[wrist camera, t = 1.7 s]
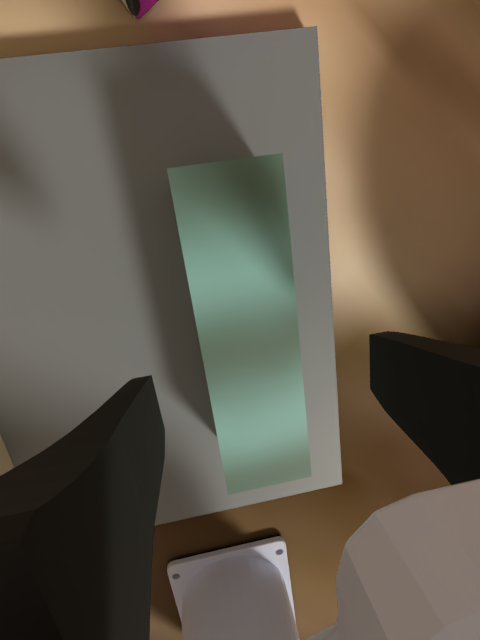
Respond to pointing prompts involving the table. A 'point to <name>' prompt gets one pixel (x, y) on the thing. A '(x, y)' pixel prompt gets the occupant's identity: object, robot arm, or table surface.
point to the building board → (149, 241)
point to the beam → (245, 314)
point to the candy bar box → (138, 7)
